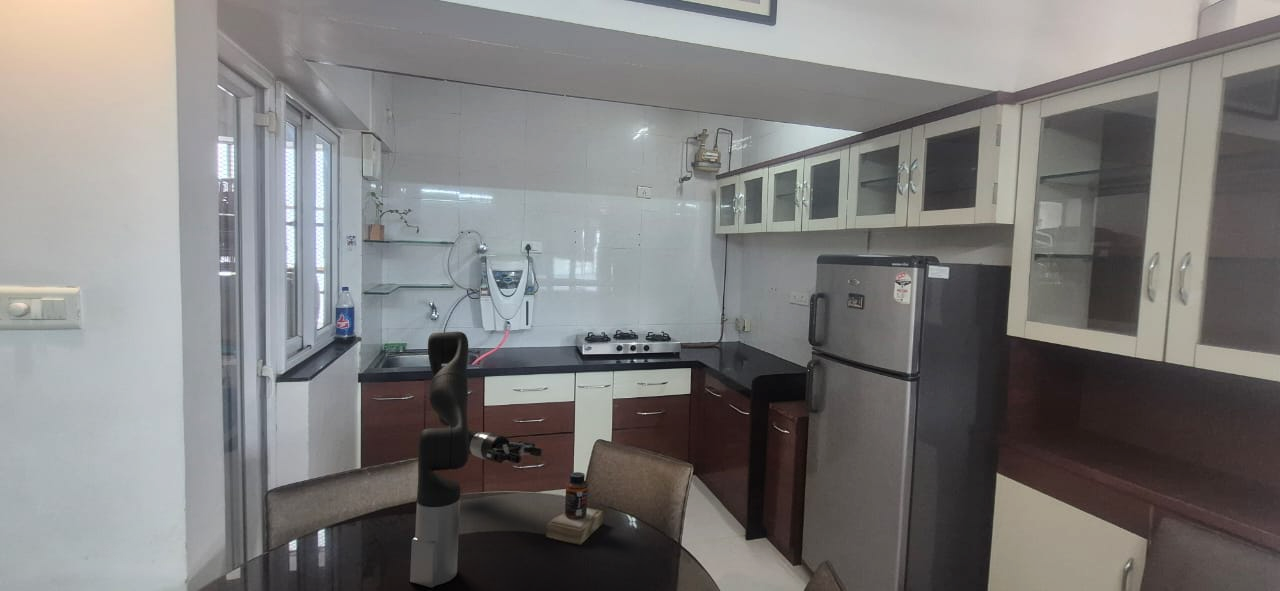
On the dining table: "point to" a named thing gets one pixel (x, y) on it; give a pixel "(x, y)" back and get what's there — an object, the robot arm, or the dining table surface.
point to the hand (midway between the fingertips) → (530, 455)
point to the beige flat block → (574, 526)
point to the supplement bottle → (576, 496)
